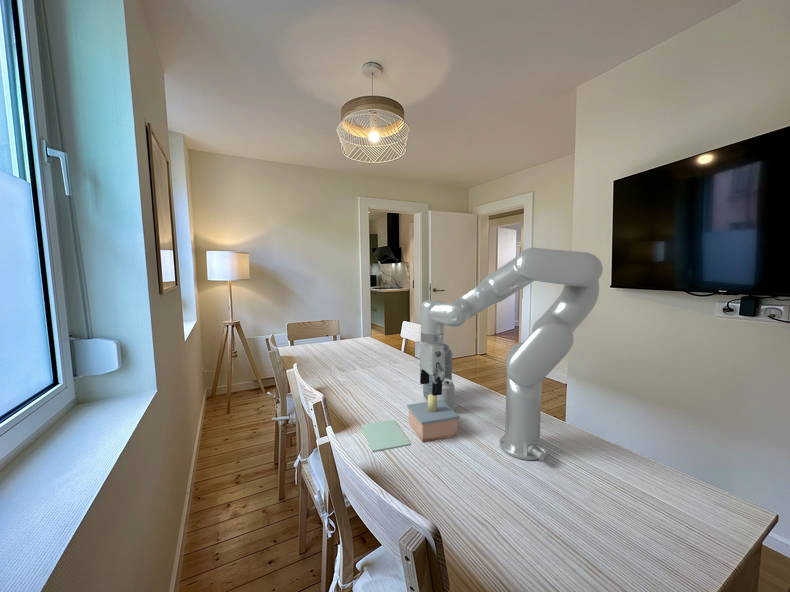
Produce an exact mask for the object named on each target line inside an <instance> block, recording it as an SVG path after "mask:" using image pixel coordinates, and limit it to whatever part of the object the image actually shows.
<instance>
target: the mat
mask: <svg viewBox="0 0 790 592" xmlns="http://www.w3.org/2000/svg"><path fill="white" fill-rule="evenodd" d="M360 426H361V428H362V429H361V430H362V431H363V433H364V436H365V438H366V441H367V443H368V445H369V448H370V450H371V452H372V453H374V452H380V451H385V450H391V449H394V448H402V447H406V446H410V445H411V444H412V443H410V441H409V439H408V438H407V436H406V435H405V433H404V432H403V430H402V429H401V427H400V426H399V424H398V423H397V421H396V420H395V419H391V420H390V419H389V420H385V421H377V422H371V423H364V424H361V425H360Z"/></svg>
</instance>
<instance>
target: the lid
mask: <svg viewBox="0 0 790 592" xmlns="http://www.w3.org/2000/svg"><path fill="white" fill-rule="evenodd" d="M406 408H407V409H408V411H409V410H410V411H411V412H412V414H413V415H414V416H415V417H416V418H417V420H418V421H419V422H420V423H421V425H424V424H430V423H436V422H442V421H448V420H454V419H457V420H459V419H460V417H461V416H460V415H459V414H458V413H457V412H456V411H455V410H454V411H453V410H452V409H451V408H450V407H449V406H448V405H446V404H445V403H444V402H443V401H442V400H437V395H436V396H433V395H432V394H429V395H428V401H425V402H418V403H410V404H406Z"/></svg>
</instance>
